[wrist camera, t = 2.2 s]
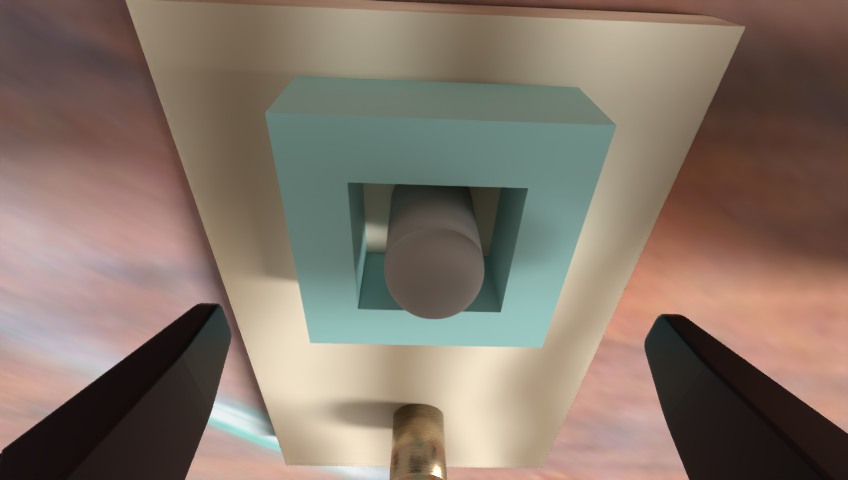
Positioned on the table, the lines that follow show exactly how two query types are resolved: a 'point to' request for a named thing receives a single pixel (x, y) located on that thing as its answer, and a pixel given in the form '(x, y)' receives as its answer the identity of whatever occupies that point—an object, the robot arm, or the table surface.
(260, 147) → the birch stand board
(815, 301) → the table surface
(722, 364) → the robot arm
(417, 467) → the bronze post
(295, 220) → the teal collar
